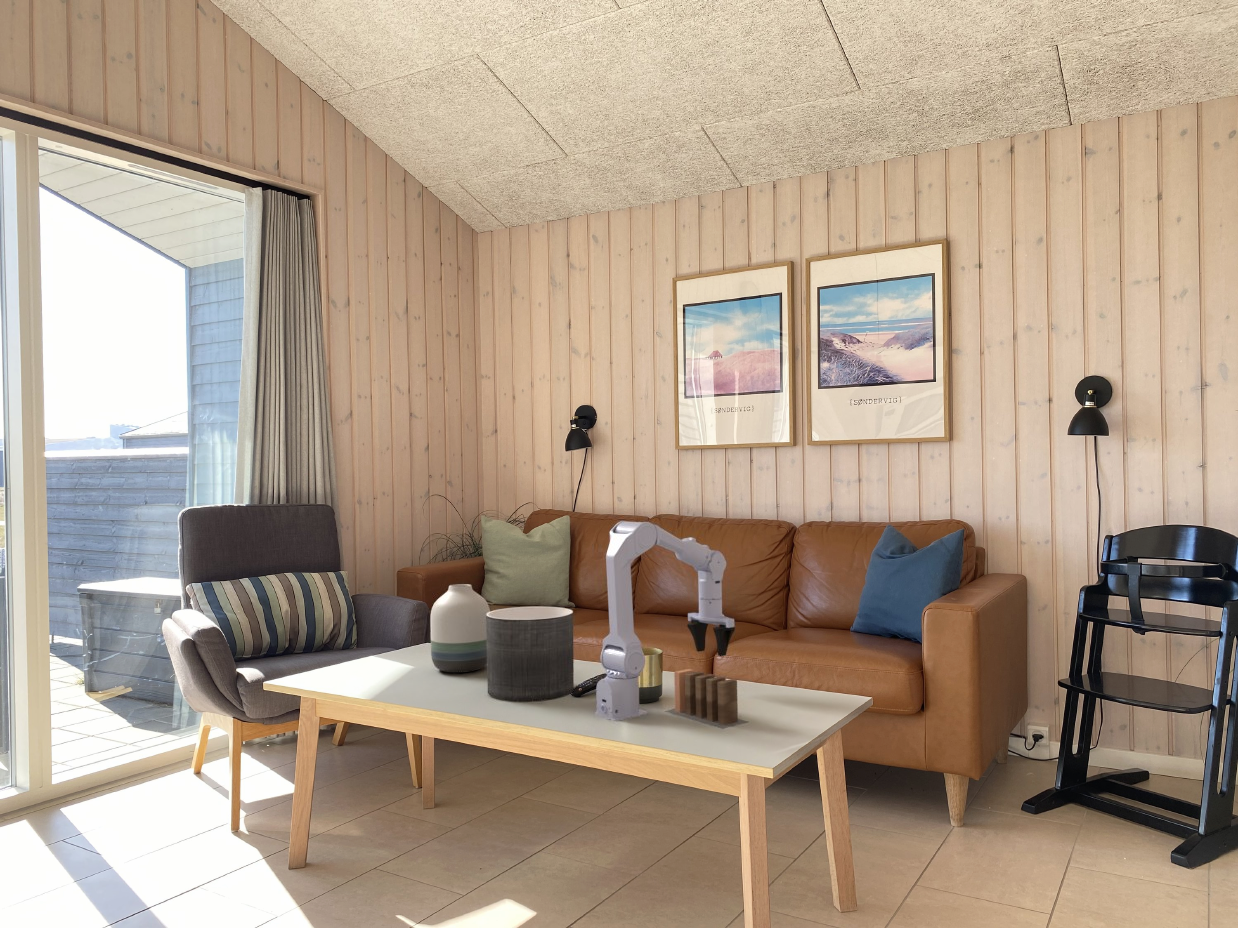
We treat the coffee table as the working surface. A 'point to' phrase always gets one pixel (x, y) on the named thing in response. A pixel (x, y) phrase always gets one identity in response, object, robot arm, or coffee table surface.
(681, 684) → the terracotta tile
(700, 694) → the walnut tile
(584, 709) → the coffee table surface
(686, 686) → the walnut tile
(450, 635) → the vase
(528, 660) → the planter
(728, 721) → the walnut tile
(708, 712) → the walnut tile
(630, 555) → the robot arm
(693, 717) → the grey flat rectangular plate
